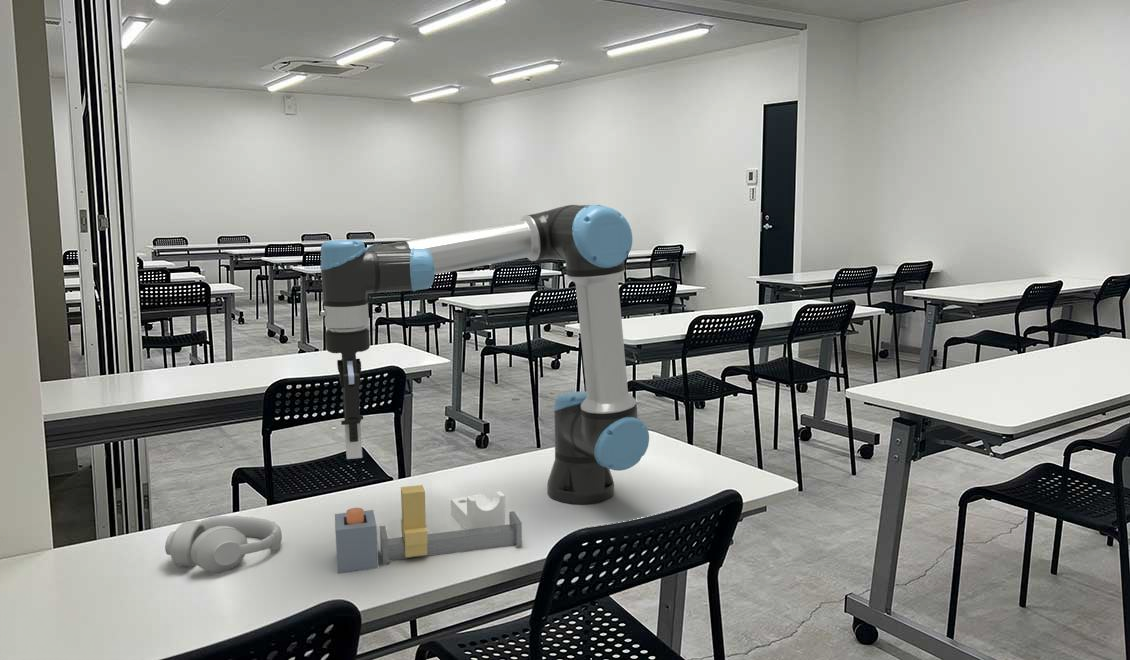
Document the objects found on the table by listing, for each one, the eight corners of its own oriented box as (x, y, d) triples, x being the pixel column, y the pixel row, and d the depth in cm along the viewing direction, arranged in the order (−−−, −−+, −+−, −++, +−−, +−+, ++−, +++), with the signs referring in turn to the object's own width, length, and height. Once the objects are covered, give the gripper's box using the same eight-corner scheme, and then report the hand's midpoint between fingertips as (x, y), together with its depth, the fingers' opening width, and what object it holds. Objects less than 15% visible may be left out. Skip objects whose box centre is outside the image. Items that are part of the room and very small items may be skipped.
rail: (514, 535, 165) (514, 511, 165) (521, 547, 160) (521, 522, 159) (380, 551, 158) (379, 526, 157) (383, 564, 152) (382, 538, 151)
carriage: (422, 541, 161) (421, 482, 159) (427, 556, 154) (426, 494, 152) (401, 543, 159) (399, 484, 158) (405, 559, 153) (403, 496, 151)
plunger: (363, 532, 155) (362, 507, 154) (364, 539, 152) (363, 512, 151) (347, 534, 154) (345, 508, 153) (347, 541, 151) (346, 514, 150)
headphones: (225, 583, 144) (299, 553, 163) (226, 538, 144) (300, 513, 162) (143, 567, 150) (223, 539, 169) (144, 524, 150) (225, 501, 169)
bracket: (505, 531, 168) (504, 495, 167) (471, 537, 165) (471, 501, 164) (482, 509, 180) (482, 475, 179) (451, 515, 177) (450, 480, 175)
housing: (374, 550, 159) (373, 509, 157) (378, 567, 151) (376, 525, 150) (336, 554, 157) (334, 514, 155) (338, 572, 149) (336, 530, 148)
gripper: (324, 324, 152) (331, 448, 156) (325, 335, 140) (334, 470, 144) (366, 321, 154) (372, 444, 158) (371, 332, 142) (378, 466, 146)
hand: (354, 457), depth 151 cm, fingers closed
